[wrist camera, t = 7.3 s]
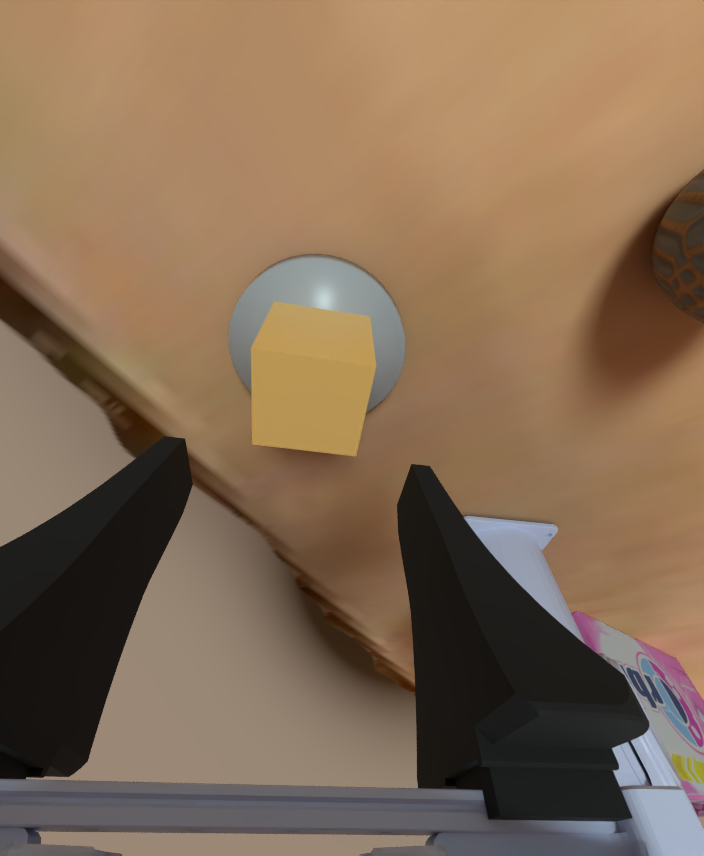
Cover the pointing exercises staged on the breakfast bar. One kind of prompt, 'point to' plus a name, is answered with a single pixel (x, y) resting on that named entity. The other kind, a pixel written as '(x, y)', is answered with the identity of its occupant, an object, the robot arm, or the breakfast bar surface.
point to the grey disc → (325, 289)
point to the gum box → (659, 699)
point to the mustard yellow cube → (311, 379)
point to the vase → (683, 250)
